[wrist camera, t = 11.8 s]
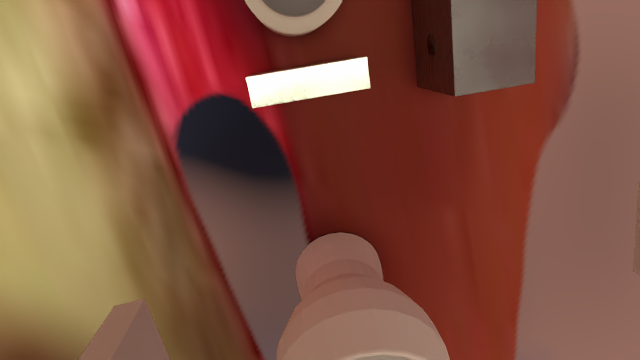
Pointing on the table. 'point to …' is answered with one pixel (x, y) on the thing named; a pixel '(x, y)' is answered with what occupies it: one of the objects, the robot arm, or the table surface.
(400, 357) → the cup
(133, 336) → the robot arm
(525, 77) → the motor bracket
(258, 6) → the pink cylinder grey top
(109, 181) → the table surface
